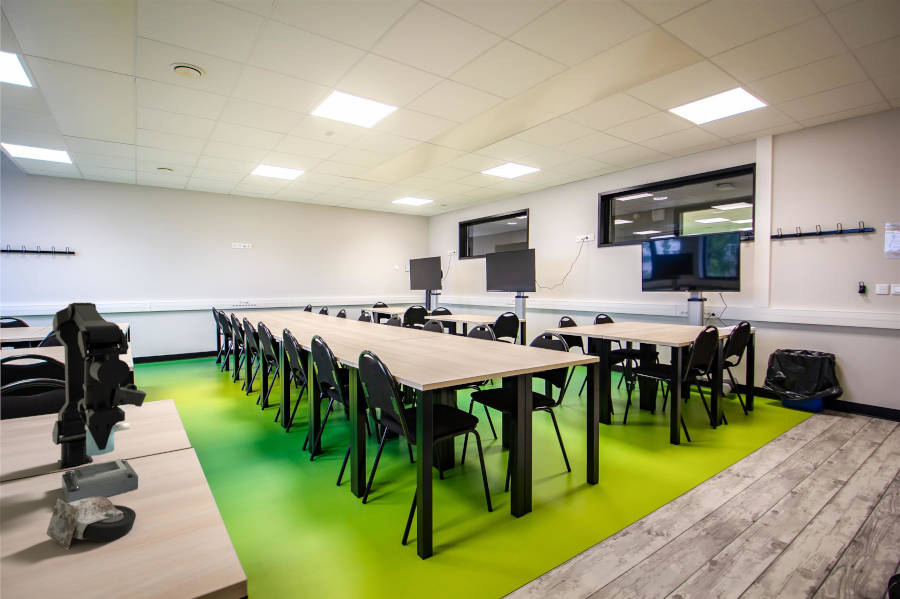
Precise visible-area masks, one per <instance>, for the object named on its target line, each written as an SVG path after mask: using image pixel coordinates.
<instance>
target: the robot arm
mask: <svg viewBox="0 0 900 599" xmlns="http://www.w3.org/2000/svg"><path fill="white" fill-rule="evenodd" d="M52 330H53V332H55V337H56V339H57V340H58V341H59V342H60V344H61V345H62V346H63V347H64V377H65V378H64V379H65V381H64V383H65V384H64V385H65V403H64V405H63V406H61V409H60V410H59V412H58V414H57V420H55V422H54V426H53V429H52V433H51V434H52V442H53V443H54V444H55V445H56V446H57V445H59V446H60V459H58V460H57V464H58V467H59V469H65V468H70V467H76V466H78V465H79V466H80V465H83V464H88V463H93V462H94V459H93V456H88V455H86V430H85V425H87V427H88V429H89V431H90V433H91V435H92V437H93V439H94V441H95V443H96V445H97V447H98V449H99V450H104V449H105V448H106V445H107V442H108V439H109V435H110V432H111V429H112V427H113V426H114V425H117V424H118V423H121V422H125V421H126V411H124V410H123V409H122V408H121V407H120V406H121V404H124V405H132V406H135V407H142V406H143V404H144V401H145V398H146V397H147V393H146V392H145V391H143V390H140V389H138V386H137V385H136V384H133V383H127V385H125V386H122V387H121V386H120V384H122V383H124V382H125V381H126V380H127V379H128V377H129V376H130V372H131V368H130V365H128V363H127V362H126V361H124V360H122V359H121V358H120V356H122V355H127V354H128V350H129V343H128V340H127V337H126V333H124V331H123V329H122V328H120V326H119V325H118V324H116V323H115V322H112V321H107V320H106V321H105V319H104V318H103V317H102V315H101V314H100V313H99V311H98V310H97V305H96V303H93V302H72V303H69V304H68V305H67V307H65V308H63V309H61V310H59V311H56V312H55V315H54V317H53V318H52Z"/></svg>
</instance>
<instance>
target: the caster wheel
mask: <svg viewBox="0 0 900 599" xmlns="http://www.w3.org/2000/svg"><path fill="white" fill-rule="evenodd" d="M136 516H137V514H136V512H135V510H134V509H133V508H130V507H128V506H125V505H118V504H113V502H112V501H111V500H110V499H109V498H108V497H89V498H85V499H81V500H78V501H74V502H70V503H67V502H66V501H63V500H62V498H61V499H60V498H57V500H56V503H55V506H54V509H53V511H52V516H51V518H50V521H49V525H48V527H47V531H46V535H47V536H48V537H49V538H51V539H52V540H54V541H55V542H56V543H58V544H59V545H60V546H62V547H63V548H64V547H65V548H64V549H66V548H68V549H69V548H70V545H71V543H72V542H71V541H72V538H76V539H77V540H89V541H95V542H96V541H97V542H101V541H102V542H104V541H106V542H107V541H112V540H115V539H119V538H123V537H124V536H126V535H128V534H129V533H130V532H131V531H132V530H133V526H134V523H135V520H136Z"/></svg>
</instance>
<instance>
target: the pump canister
mask: <svg viewBox="0 0 900 599" xmlns="http://www.w3.org/2000/svg"><path fill="white" fill-rule="evenodd" d="M130 429H131V428H130V422H124V423H119V424H118V423H116V424H115V425H114V426H113V427H112V429H111V432H110V435H109V439H108V442H107V445H106V448H105V449H104V450H99V449H98V447H97V445H96V443H95V441H94V439H93V437H92V435H91V433H90V431H89V429H88V427H87V425H85V430H86V455H88V456H91V457H93V456H94V457H95V456H102V455H106V454H109V453H112V452H113V451H115V432H122V431H126V430H127V431H128V430H130Z"/></svg>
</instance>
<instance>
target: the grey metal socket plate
mask: <svg viewBox="0 0 900 599" xmlns="http://www.w3.org/2000/svg"><path fill="white" fill-rule="evenodd" d="M61 488H62V492H63V495H64V498H65V500H66V501H65V502H66V503H70V502H74V501H78V500H81V499H85V498H89V497H105V498H108V497H112V496H115V495H119V494H123V493H127V492H130V491H135V490H138V489H139V475H138V474H137V473H136V471H135V470H134V469H133V466H131V465H130V463H129V462H128V460H126V459H124V458H123V459H121V458H117V459H112V460H107V461H101V462H98V463H93V464H89V465H88V464H87V465H85V466H79V467H75V468H73V470H68V471H65V472H64V473H63V474H61Z"/></svg>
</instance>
